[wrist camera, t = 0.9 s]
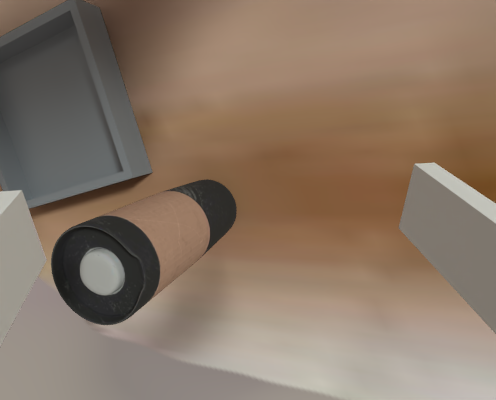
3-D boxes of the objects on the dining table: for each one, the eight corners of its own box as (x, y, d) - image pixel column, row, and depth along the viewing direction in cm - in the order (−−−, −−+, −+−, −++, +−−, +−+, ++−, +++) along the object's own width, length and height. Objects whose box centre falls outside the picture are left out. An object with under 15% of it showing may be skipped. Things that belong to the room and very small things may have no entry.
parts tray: (-15, 66, 49) (-47, 62, 45) (99, 7, 42) (73, -4, 38) (37, 206, 51) (11, 213, 48) (152, 172, 45) (133, 177, 41)
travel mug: (170, 213, 45) (34, 280, 26) (200, 164, 42) (73, 200, 24) (217, 250, 44) (112, 347, 26) (251, 203, 42) (161, 272, 23)
